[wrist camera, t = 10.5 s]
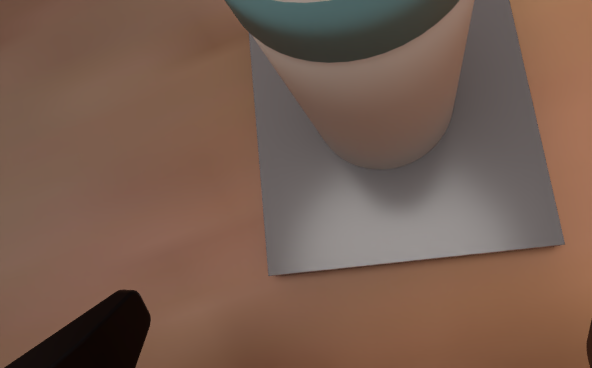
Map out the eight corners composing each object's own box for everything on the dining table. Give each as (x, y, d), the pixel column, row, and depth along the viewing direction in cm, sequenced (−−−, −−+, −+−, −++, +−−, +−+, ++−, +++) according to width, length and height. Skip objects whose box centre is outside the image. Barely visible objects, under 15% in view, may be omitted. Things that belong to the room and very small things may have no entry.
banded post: (485, 119, 17) (698, -399, 4) (358, 197, 18) (186, -31, 5) (403, 14, 19) (368, -589, 6) (290, 88, 20) (27, -300, 6)
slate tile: (555, 246, 17) (565, 244, 16) (277, 275, 20) (268, 275, 18) (489, -50, 20) (493, -69, 19) (254, 10, 22) (246, -4, 21)
